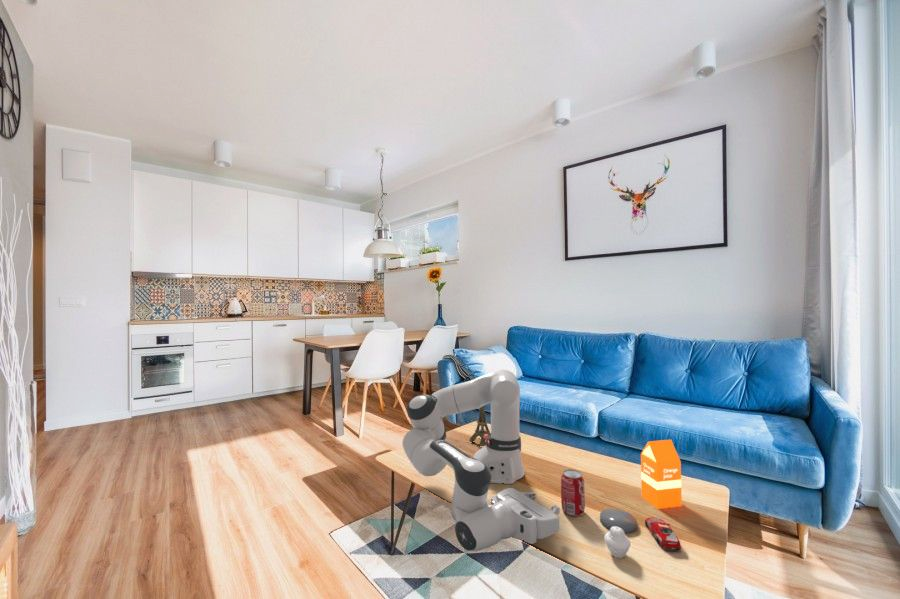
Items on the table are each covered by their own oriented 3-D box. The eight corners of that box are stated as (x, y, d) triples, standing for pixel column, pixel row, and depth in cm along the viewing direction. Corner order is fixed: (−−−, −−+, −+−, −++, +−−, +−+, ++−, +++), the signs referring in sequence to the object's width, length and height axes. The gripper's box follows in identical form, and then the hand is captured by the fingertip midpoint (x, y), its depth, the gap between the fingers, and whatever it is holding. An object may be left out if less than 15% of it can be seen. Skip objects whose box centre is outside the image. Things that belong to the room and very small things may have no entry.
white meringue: (605, 559, 95) (604, 531, 95) (604, 544, 100) (603, 518, 101) (631, 564, 92) (631, 536, 93) (629, 549, 98) (629, 523, 98)
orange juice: (682, 506, 118) (680, 443, 119) (657, 509, 117) (656, 445, 117) (664, 494, 126) (662, 435, 126) (641, 496, 125) (639, 437, 125)
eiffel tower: (466, 442, 176) (466, 389, 176) (482, 436, 183) (481, 386, 183) (482, 448, 168) (481, 393, 168) (498, 442, 175) (497, 390, 175)
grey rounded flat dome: (609, 534, 105) (609, 529, 105) (594, 514, 115) (594, 509, 115) (644, 533, 105) (644, 527, 105) (626, 513, 115) (625, 508, 115)
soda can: (581, 505, 120) (581, 468, 120) (587, 518, 113) (586, 478, 113) (559, 505, 120) (558, 468, 120) (563, 517, 113) (563, 478, 113)
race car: (642, 523, 110) (642, 510, 110) (662, 524, 109) (661, 511, 109) (661, 552, 97) (661, 537, 97) (683, 554, 96) (683, 538, 96)
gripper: (487, 510, 111) (521, 497, 119) (536, 548, 94) (573, 529, 101) (487, 489, 111) (521, 477, 119) (536, 523, 94) (572, 506, 102)
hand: (545, 501), depth 110 cm, fingers open, 8 cm apart
